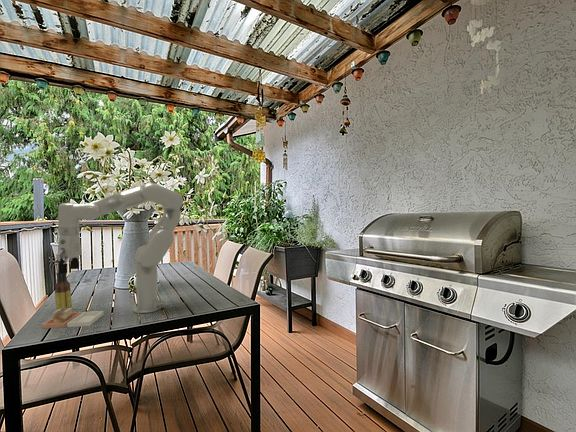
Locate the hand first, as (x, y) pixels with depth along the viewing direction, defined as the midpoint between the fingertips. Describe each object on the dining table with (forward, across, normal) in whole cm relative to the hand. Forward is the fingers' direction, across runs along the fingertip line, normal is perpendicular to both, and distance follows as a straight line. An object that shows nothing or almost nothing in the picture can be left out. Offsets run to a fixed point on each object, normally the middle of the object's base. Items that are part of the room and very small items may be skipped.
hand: (68, 271), depth 137 cm
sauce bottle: (+23, +17, +10) cm, 30 cm away
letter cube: (+22, +1, +2) cm, 22 cm away
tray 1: (+23, +1, +2) cm, 23 cm away
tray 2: (+23, 0, -7) cm, 24 cm away
